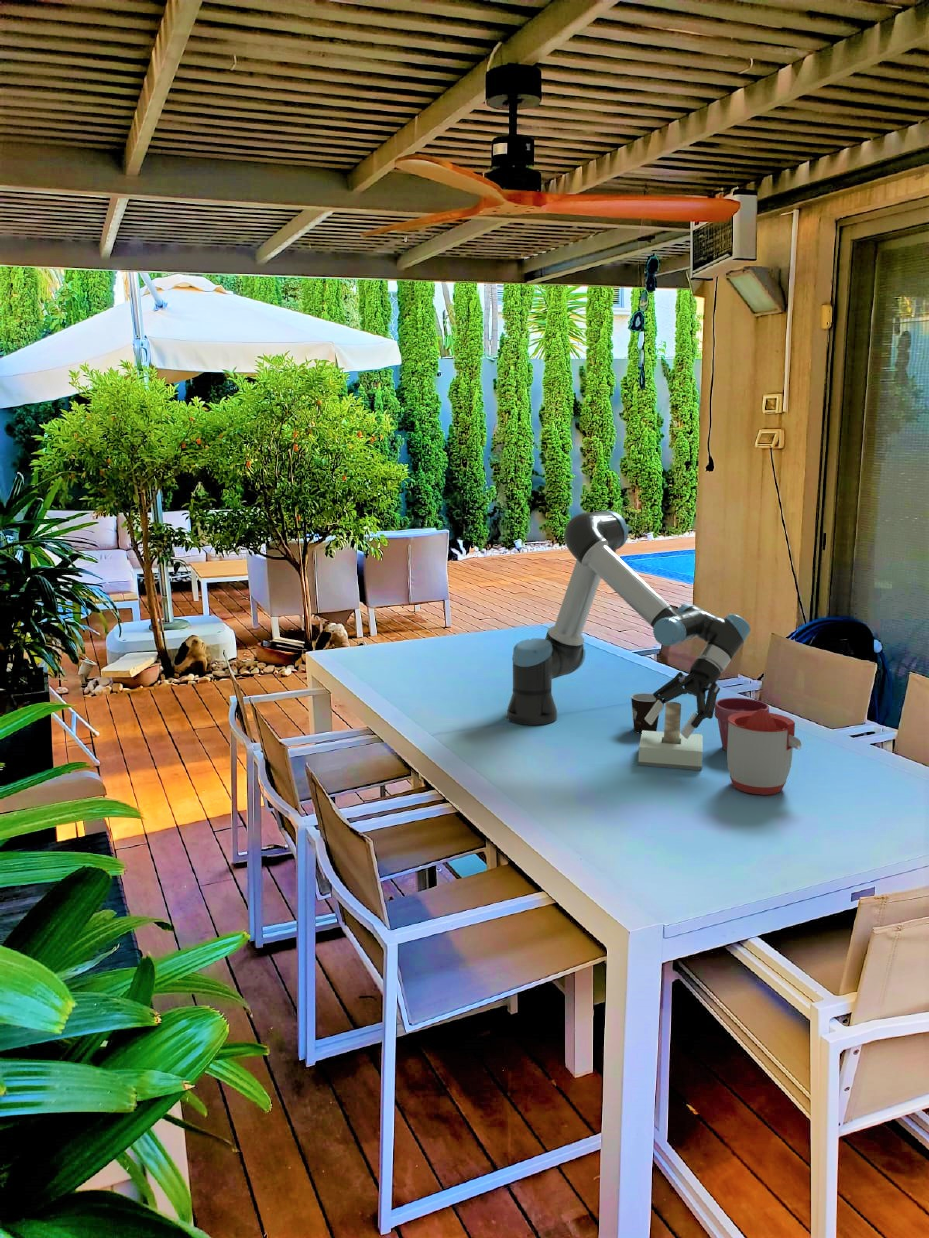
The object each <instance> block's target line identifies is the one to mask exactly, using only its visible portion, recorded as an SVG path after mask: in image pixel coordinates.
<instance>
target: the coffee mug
mask: <svg viewBox="0 0 929 1238" xmlns="http://www.w3.org/2000/svg"><path fill="white" fill-rule="evenodd" d="M630 700H631V701H630V702H631V709H632V710H631V711H632V712H631V713H632V721H633V722H632V723H633V731H634V732H635V733H637V732H639V733H638V734H641V733H642V730H644V731H658V724H659V723H658V722H659V716H660V714H659V715H658V716H657V718H656V719H655V721H654V722H653V724H652V725H650V724H649V723H648V722H647V721H646V720H645V719H644V718H645V717H646V716H647V714H648V713H649V711H650V708H651V706H652V705H653V704H654V702H655V701H656V698H655V697H654V696H653V693H650V692H649V693H648V692H644V693H643V692H642V693H641V692H640V693H634V694H632V695H631V697H630Z"/></svg>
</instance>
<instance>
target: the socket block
mask: <svg viewBox="0 0 929 1238" xmlns="http://www.w3.org/2000/svg"><path fill="white" fill-rule="evenodd" d="M640 734H641V733H640ZM703 741H704V739H703V734H701V733H700V734H699V733H697V734H696V733H691V735H690V736H689V738H688V739H686V738H685V737H684V736H683V735H682V734H681V733H680V737H679V744H668V743H664V731H659V730H657V731H644V730H642V734H641V735H640V740H639V746H638V764H637V765H638V766H644V767H654V768H655V767H656V768H666V767H667V768H669V769H678V770H679V769H682V770H695V771H702V770H703V769H702V768H703V753H704V751H703V748H704V747H703V745H704V744H703V743H704V742H703Z"/></svg>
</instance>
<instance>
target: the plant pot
mask: <svg viewBox="0 0 929 1238" xmlns="http://www.w3.org/2000/svg"><path fill="white" fill-rule="evenodd" d="M759 709H764V710H765V711H766V712H768V713H770V705H769V704H768V703H766V702H765V701H761V700H758V699H752V698H744V697H726V698H721V699H718V700H716V703H715V708H714V717H715V718H716V719H717V724H718V729H719V730H718V731H719V737H720V741H721V746H722V749H723V750H724V751H726V752H727V744H728V725H729V722H728V717H729V716H730V715H732V714H734V713H739V712H749V711H758V710H759Z"/></svg>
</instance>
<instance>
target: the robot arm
mask: <svg viewBox="0 0 929 1238" xmlns="http://www.w3.org/2000/svg"><path fill="white" fill-rule="evenodd" d="M628 536H629V528H628V525H627V524H626V520H625V519H624V517H623V516H622V515H620V514H619V513H618V512H616V511H613V510H603V509H602V510H598V511H592V512H585V513H578V514H577V515H575V516H573V517H572V518H571V519H570V520H569V521H568V522H567V524H566V526H565V529H564V534H563V538H564V542H565V546H566V547H567V548H568V549H567V550H568V551H569V552H570V553H571V554H572V556H573V557H574V559H576V560H575V564H574V567H573V569H572V572H571V576H570V579H569V582H568V586H567V587H566V591H565V594H564V596H563V599H562V603H561V606H560V609H559V612H558V615H557V618H556V621H555V624H554V625H553V626H551V627H548V629H547V632H546V635H545V637H544V638H535V637H534V638H531V639H529V638H527V639H524V640H521V641H518V642H517V643H516V644H515V645H514V646H513V652H512V658H511V659H512V694H511V697H510V700H509V703H508V706H507V708H506V719H507V720H508V721H509V722H512V723H515V724H518V725H524V726H536V725H537V726H540V725H541V726H542V725H547V724H551V723H555V722H556V720H557V718H558V710H557V706H556V704H555V701H554V697H553V695H552V683H553V682H552V680H553V679H554V680H555V679H557V678H559V677H562V676H566V675H570V674H572V673H574V672H575V671H577V670H579V668H580V667H581V666H582V665H583V663H584V661H585V658H586V649H585V644H584V643H585V638H584V637H583V635H582V633H583V630H584V628H585V625H586V622H587V619H588V618H589V614H590V611H591V607H592V605H593V602H594V599H595V596H596V593H597V590H598V588H599V584H600V582H601V580H603V581H604V582H605V583H606V584H607V585H608V586H609V587H610V588H611V589H612V590H613V591H614V592H615V593H616V594H617V595H618V596H620V598H622V599H623V601H624V602H626V603H627V604H628V606H630V607H631V608H632V610H633V611H635V612H636V613H637V614H638V615H639V616H640V617H641V618H642V619H643V620H644V621H645V622H646V623H648V624H649V626H650V627H652V632H653V636H654V639H655V641H656V642H657V643H658V644H659V645H661V646H664V647H670V646H676V645H679V644H681V643H683V642H685V641H689V640H692V639H695V638H698V639H700V640H702V641H704V642H706V643H707V644H706V645H705V646H704V648H703V649H702V651H701V652H700V654H699V655H698V658H695V661H694V662H693V664H692V665H691V666H690V669H689V674H686V675H685V674H684V673H683V672H682V671H679V672H678V673H677V674H676V675H675V677H672V679H670V680H669V681H668V682H666V683H665V684H664V685H663V686H661V687H660V688H658V689H657V690H656V691H654V692H653V693H652V694H653V696H654V697H655V698H656V701H655V702H654V704H653V705H652V706H651V708H650V711H649V713H648V714H647V716H646V717H645V718H644V719H645V720H646V721H647V722H648V723H649V724H650V725H652V724H653V722H654V721H655V719H656V718H657V716H658V715H659V716H660V714H661V712H662V711H663V709H664V708H665V706H666V705H665V704H666V703H667V702H671V701H672V700H674V699H676V698H678V697H681V696H682V695H687V694H688V695H693V696H694V697H696V709H697V710H696V711H695V712H693V713H692V715H691V716H690V718H689V719H688V720H687V723H685V725H684V726H683V728H682V730H680V733H681V734H682V735H683V736H684V737H685V738H686V739H688V738H689V736H690V735H691V734H693V732H694V731H695V729H697V728H698V727H699V726H700V725H701V723H702V721H703V720H705V719H709V720H711V719H712V718H713V717H714V714H715V703H716V701H717V696H718V694H719V693H720V690H721V688H720V686H719V685H718V684H717V681H718V680H719V678H720V677H721V676H722V674H721V673H723V672H724V671H725V670H726V669H727V667H728V665H729V663H730V662H731V661H732V659H733V658H734V657H735V655H736V654H737V653H738V651H739V649H740V648H741V647H742V645H743V644H744V643H745V640H746V639H747V638H748V636H749V634H750V633H751V625H750V623H748V621H747V620H745V619H744V618H743V617H741V616H740V615H738V614H734V613H729V614H728V615H727V616H726V617H724V618H722V617H719V616H717V615H715V614H713V613H711V612H709V611H706V610H705V609H702V608H701V607H699V606H697V605H694V604H691V603H687V602H686V603H682V604H681V606H679V607H678V608H677V609H674V607H673V606H671V605H670V604H669V603H668V602H667V601H666V600H665V599H664V598H663V597H662V596H661V595H660V594H658V593H657V591H655V590H654V589H653V587H651V586H650V585H649V584H648V583H647V582H646V580H644V579H643V578H642V577H641V576H640V575H639V574H638V573H636V572H635V571H634V570H633V568H631V567H630V565H628V563H626V562H625V561H624V560H622V558H621V557H619V555H617V553H616V552H617V550H620V549H621V548H622V547H623V546H624V545H625V544H626V542H627V540H628ZM706 692H707V696H706Z"/></svg>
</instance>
